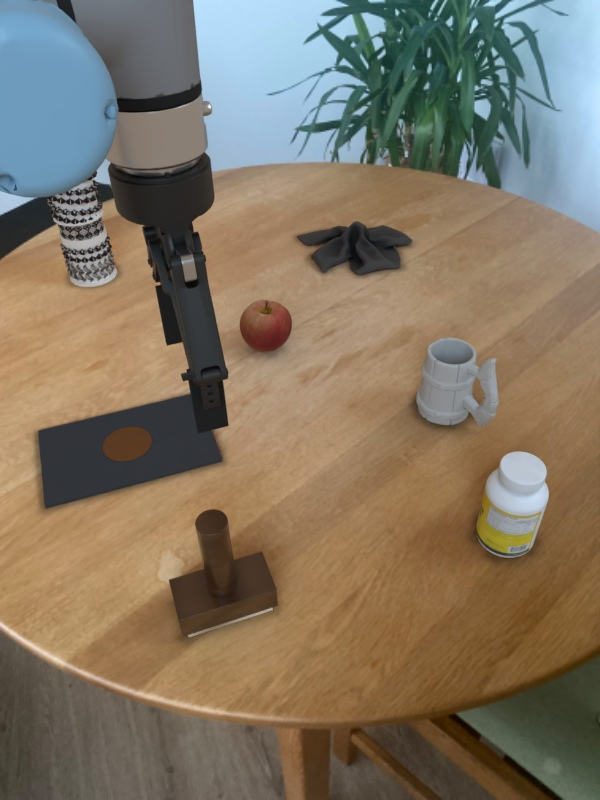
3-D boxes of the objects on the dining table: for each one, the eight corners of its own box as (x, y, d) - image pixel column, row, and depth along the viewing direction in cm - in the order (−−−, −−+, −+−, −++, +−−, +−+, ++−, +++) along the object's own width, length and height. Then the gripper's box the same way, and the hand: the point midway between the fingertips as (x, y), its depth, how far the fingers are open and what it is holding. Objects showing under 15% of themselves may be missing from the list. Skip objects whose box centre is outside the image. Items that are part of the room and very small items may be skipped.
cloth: (414, 231, 133) (417, 201, 129) (405, 280, 119) (408, 248, 115) (303, 223, 136) (303, 194, 132) (282, 269, 123) (281, 238, 119)
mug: (439, 383, 97) (449, 313, 90) (507, 424, 91) (525, 353, 83) (403, 406, 94) (410, 336, 86) (471, 452, 87) (486, 380, 79)
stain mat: (46, 508, 81) (44, 504, 81) (39, 433, 91) (37, 429, 91) (222, 461, 87) (221, 457, 86) (197, 395, 97) (197, 391, 96)
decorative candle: (108, 257, 128) (77, 121, 111) (127, 278, 122) (96, 138, 105) (61, 271, 124) (21, 133, 108) (77, 293, 118) (37, 151, 102)
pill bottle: (505, 506, 80) (525, 436, 72) (545, 545, 76) (570, 475, 68) (462, 528, 78) (477, 458, 70) (501, 570, 73) (521, 500, 66)
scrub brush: (184, 642, 68) (162, 559, 59) (174, 601, 71) (152, 516, 62) (278, 611, 70) (271, 526, 61) (264, 573, 74) (255, 487, 65)
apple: (288, 327, 109) (287, 284, 104) (296, 357, 103) (294, 313, 98) (239, 332, 108) (235, 289, 103) (244, 362, 102) (239, 319, 97)
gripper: (257, 219, 41) (274, 460, 55) (174, 99, 59) (202, 304, 73) (134, 241, 39) (184, 484, 53) (87, 111, 57) (133, 318, 71)
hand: (194, 381), depth 63 cm, fingers open, 13 cm apart
